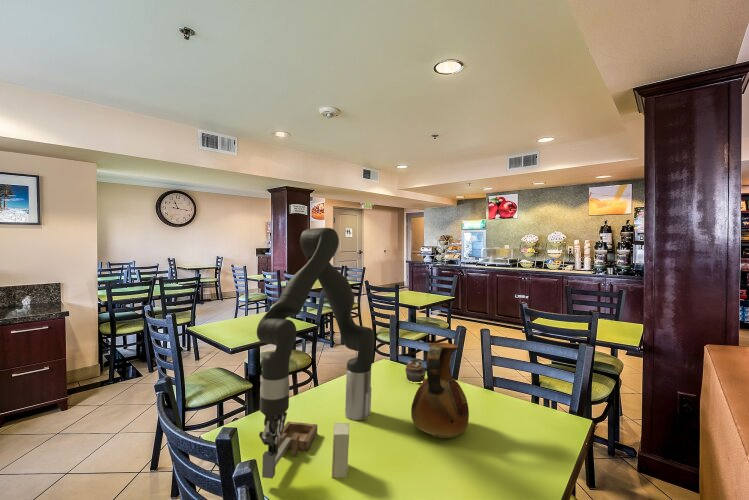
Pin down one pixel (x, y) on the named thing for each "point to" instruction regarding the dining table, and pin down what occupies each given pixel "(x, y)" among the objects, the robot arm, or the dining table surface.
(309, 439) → the dock
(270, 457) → the pin
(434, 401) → the ceramic pitcher
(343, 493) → the dining table surface
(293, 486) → the dining table surface
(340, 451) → the skincare box
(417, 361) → the cupcake
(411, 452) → the dining table surface
